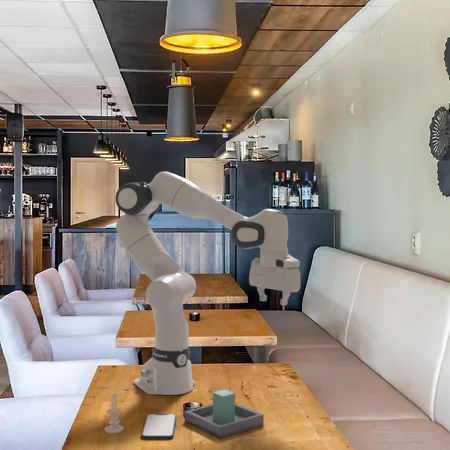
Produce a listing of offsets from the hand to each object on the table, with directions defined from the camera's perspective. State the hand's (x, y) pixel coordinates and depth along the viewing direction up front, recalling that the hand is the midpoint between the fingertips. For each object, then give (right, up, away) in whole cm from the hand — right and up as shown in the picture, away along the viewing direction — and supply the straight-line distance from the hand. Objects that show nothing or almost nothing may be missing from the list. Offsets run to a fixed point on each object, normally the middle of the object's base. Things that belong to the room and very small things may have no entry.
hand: (273, 302), depth 193 cm
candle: (-46, -32, -26) cm, 62 cm away
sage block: (-16, -31, -21) cm, 40 cm away
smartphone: (-34, -32, -25) cm, 53 cm away
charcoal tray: (-16, -32, -21) cm, 41 cm away
